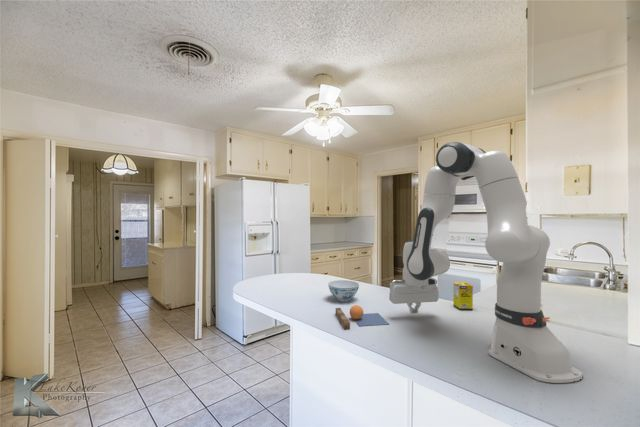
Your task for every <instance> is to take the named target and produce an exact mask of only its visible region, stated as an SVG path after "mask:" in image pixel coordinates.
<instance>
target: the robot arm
mask: <svg viewBox="0 0 640 427" xmlns="http://www.w3.org/2000/svg"><path fill="white" fill-rule="evenodd" d="M435 162H436V165H435V166H432V167H431V168H430V169H428V172H427V175H426V179H425V183H424V187H423V188H424V189H423V199H422V205H421V209H420V211H419V213H418V215H417V218H416V223H415V228H414V235H413V240H407V241H406V242H405V243H404V245H403V249H402V263H403V268H402V279H393V280H392V281H391V282H390V283H389V296H388V297H389V298H388V300H389V301H390V302H391V303H392V304H393V305H394V304H395V305H397V304H406V305H407V307H408V309H409V314H410V315H411V314H419V309H420V307H421V305H422V303H436V302H438V301H439V298H440V297H439V296H440V294H439V293H440V291H439V287H438V280H437V279H436V278H433V277H437V276H439V275H442V274H446V273H447V272H448V271H449V269H450V265H451V261H450V258H449V256H448V254H447V253H446V252H444V251H443V250H439V249H436V248H434V247H432V241H433V234H434V232H435V229H436V227H437V225H438V224H439V223H441V222H442V221H443V220H445V219H447V217H449V216H450V215H451V214H452V212H453V210H454V207H455V202H456V190H457V189H456V187H457V183H458V182H460V180H462V181H466V180H469V179H472V178H475V180H476V182H477V185H478V190H479V192H480V197H481V199H482V201H483V206H484V208H485V214H486V219H487V220H486V222H487V236H486V238H485V242H484V243H485V244H484V245H485V246H484V247H485V250H486V252H487V254H488V255H489V257H490V258H492V259H493V260H495V262H496V261H497V262H499V263H502V266H501V270H500V272H499V274H498V276H497V279H496V303H495V305H494V316H495V322H494V325H493V329H492V338H491V344H490V345H489V346H490V347H489V350H488V355H489V356H491V357H493V359H494V358H495V359H496V360H498V361H501V362H503V363H504V364H506V365H508V366H509V367H512V368H514V369H515V370H517V371H519V372H521V373H523V374H525V375H526V376H528V377H531V378H533V379H534V380H536V381H539V382H544V383H553V384H566V383H573V382H574V381H575V382H578V381H580V379H581V380H582V379H583V378H584V374H583V371H581V370H579V369H578V368H576V367H575V366H573V365H572V361H571V355H570V352H569V350H568V348H567V347H566V346H565V345H564V344H563V343H562V341H560V339H558V337H557V336H556V335H555V334H554V332H552V330H550V328H548V326H547V322H550V320H549V319H550V317H545V315H544V312H543V310H542V309H541V306H542V305H541V304H542V303H541V302H542V299H541V298H542V282H543V275H544V271H545V267H546V261H547V255H548V251H549V248H550V245H551V241H550V237H549V235H548V234H547V232H546V231H544V230H542V229H540V228H539V227H537V226H534V225H531V224H529V223H528V219H527V218H528V217H527V204H528V201H527V199H526V195H525V193H524V192H525V191H524V189H523V186H522V184H521V182H520V179H519V176H518V173H517V171H516V169H515V166H514V165H513V163H512V161H511V159H510V157H508V155H507V153H505V152H504V151H501V150H490V151H485V150H483V148H481V147H476V146H475V145H474V146H473V145H472V144H469V143H463V142H459V141H451V142H448V143H447V142H446V143H445V144H443V145H442V146H441V147H440V148H439V149H438V151H437V152H436V156H435ZM413 304H415V306H414V307H412V306H413ZM582 377H583V378H582Z"/></svg>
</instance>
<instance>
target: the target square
mask: <svg viewBox="0 0 640 427" xmlns="http://www.w3.org/2000/svg"><path fill="white" fill-rule="evenodd" d="M353 320H354V322H355V323H356V324H357V326H358V327H373V326H387V325H390V323H389V322H388V321H387V320H386V319H385V318H384V317H383V316H382V315H381V314H380V313H378V312H376V313H375V312H374V313H371V312H370V313H363V316H362V318H361V319H358V320H356V319H353Z"/></svg>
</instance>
